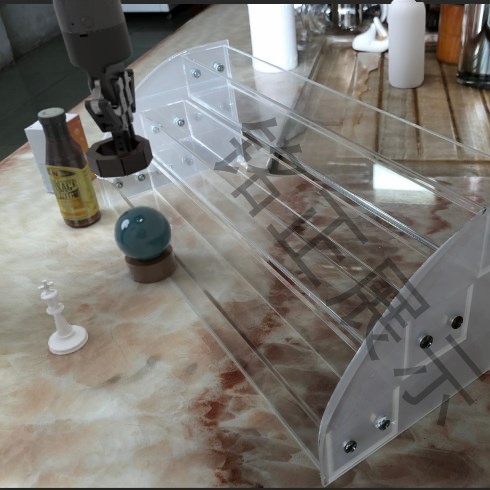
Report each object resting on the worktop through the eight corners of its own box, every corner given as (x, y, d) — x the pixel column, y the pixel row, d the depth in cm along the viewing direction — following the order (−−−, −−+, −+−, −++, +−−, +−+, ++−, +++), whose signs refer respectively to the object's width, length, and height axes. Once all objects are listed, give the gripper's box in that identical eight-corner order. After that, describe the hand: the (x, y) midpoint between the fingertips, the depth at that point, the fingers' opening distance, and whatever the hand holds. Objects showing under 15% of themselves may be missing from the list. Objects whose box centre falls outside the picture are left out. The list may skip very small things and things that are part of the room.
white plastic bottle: (387, 78, 155) (387, -49, 138) (421, 76, 154) (425, -52, 137) (389, 90, 147) (388, -43, 130) (425, 88, 147) (429, -46, 130)
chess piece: (43, 341, 78) (16, 281, 73) (80, 323, 81) (56, 264, 75) (56, 360, 75) (29, 299, 69) (94, 341, 77) (70, 281, 72)
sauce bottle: (57, 227, 103) (16, 118, 91) (79, 208, 107) (43, 103, 96) (89, 231, 101) (51, 120, 90) (110, 212, 106) (77, 105, 94)
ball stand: (119, 286, 87) (100, 226, 81) (134, 255, 94) (116, 197, 88) (173, 283, 87) (157, 223, 81) (184, 252, 93) (170, 194, 88)
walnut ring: (84, 179, 76) (78, 161, 74) (103, 153, 82) (98, 136, 80) (143, 176, 75) (138, 158, 74) (157, 150, 82) (153, 133, 80)
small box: (74, 195, 112) (52, 130, 105) (46, 192, 114) (22, 129, 106) (98, 175, 118) (79, 113, 111) (71, 173, 120) (50, 112, 113)
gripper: (81, 9, 77) (116, 134, 87) (39, 38, 66) (84, 177, 76) (137, 5, 77) (166, 131, 87) (105, 33, 66) (142, 174, 75)
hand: (128, 152), depth 81 cm, fingers closed on walnut ring, 1 cm apart
